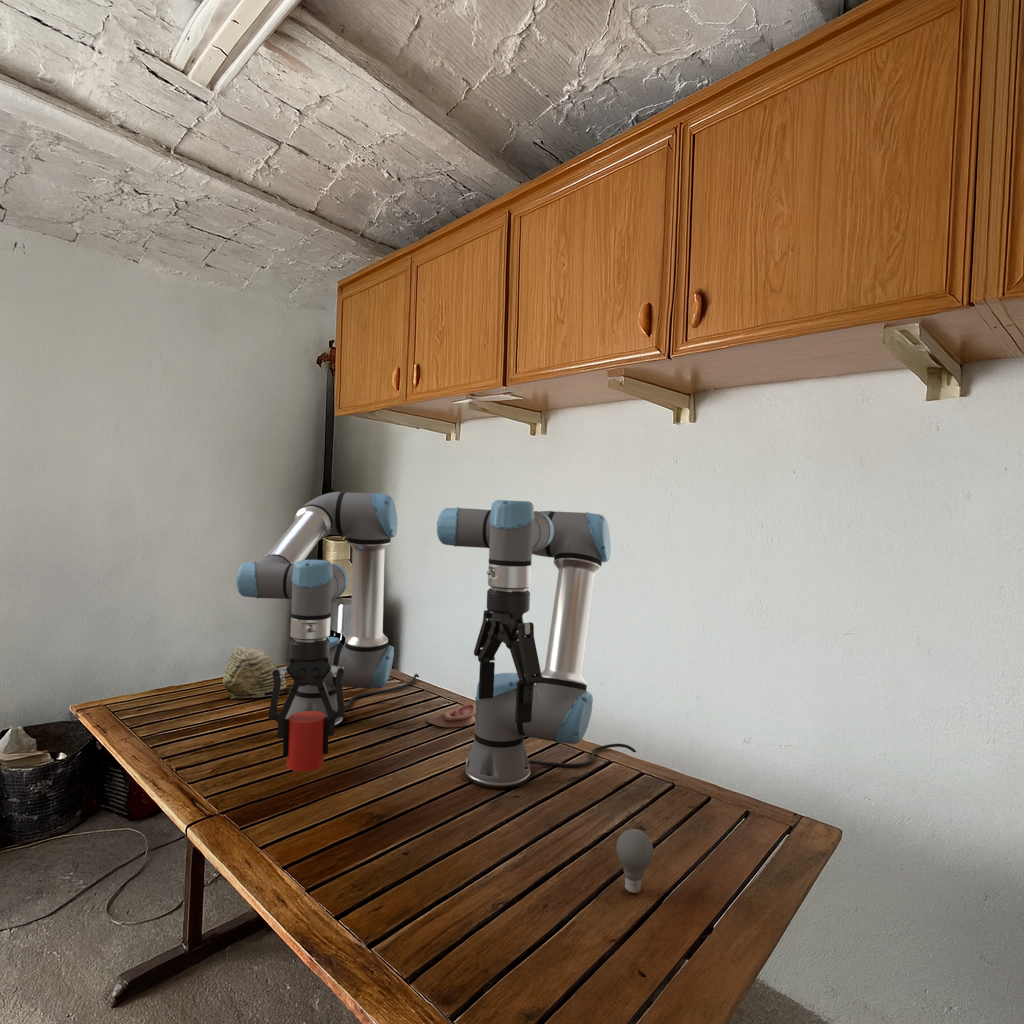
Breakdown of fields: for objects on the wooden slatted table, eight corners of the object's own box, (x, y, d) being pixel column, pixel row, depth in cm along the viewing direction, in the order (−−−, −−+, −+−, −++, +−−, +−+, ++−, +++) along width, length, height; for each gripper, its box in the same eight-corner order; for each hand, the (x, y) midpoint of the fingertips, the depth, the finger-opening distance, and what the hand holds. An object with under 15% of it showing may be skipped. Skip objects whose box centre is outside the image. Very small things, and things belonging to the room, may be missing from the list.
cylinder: (323, 770, 124) (325, 721, 124) (285, 773, 122) (287, 723, 122) (323, 755, 131) (325, 709, 130) (287, 758, 129) (289, 711, 128)
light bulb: (610, 879, 108) (613, 822, 108) (644, 879, 109) (647, 822, 109) (619, 902, 102) (622, 840, 102) (655, 901, 103) (658, 840, 103)
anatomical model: (423, 710, 178) (436, 698, 189) (423, 725, 178) (436, 711, 189) (469, 716, 175) (479, 703, 186) (468, 730, 175) (479, 716, 186)
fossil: (218, 695, 195) (220, 647, 195) (278, 685, 208) (279, 640, 207) (228, 703, 189) (230, 653, 188) (289, 692, 201) (290, 645, 201)
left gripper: (254, 643, 120) (249, 763, 120) (362, 641, 125) (357, 757, 125) (259, 634, 127) (255, 748, 127) (361, 633, 132) (356, 742, 133)
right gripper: (459, 579, 119) (454, 691, 120) (526, 600, 98) (520, 737, 98) (494, 578, 123) (489, 687, 124) (567, 599, 101) (561, 730, 102)
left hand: (305, 752), depth 126 cm, fingers closed on cylinder, 7 cm apart
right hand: (503, 709), depth 111 cm, fingers open, 13 cm apart
